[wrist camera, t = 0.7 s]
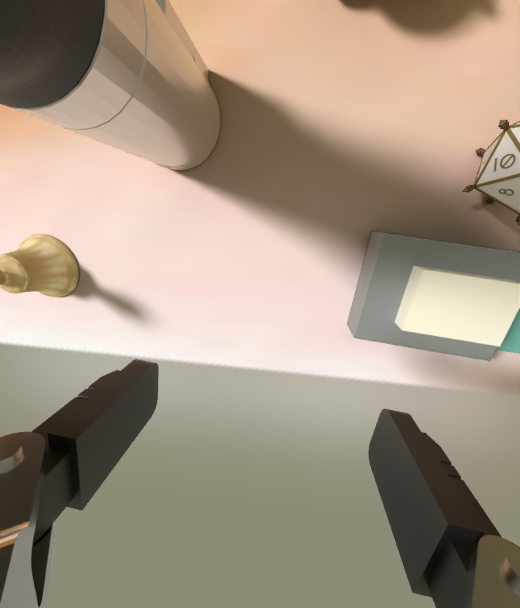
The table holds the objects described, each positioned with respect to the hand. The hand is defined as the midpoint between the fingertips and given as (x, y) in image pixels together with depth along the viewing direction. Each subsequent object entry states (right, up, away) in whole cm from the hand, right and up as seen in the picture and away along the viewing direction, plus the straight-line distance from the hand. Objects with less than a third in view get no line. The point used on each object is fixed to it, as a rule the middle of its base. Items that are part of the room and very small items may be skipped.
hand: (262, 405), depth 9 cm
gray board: (+18, +5, +20) cm, 28 cm away
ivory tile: (+19, +4, +16) cm, 25 cm away
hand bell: (-28, +9, +25) cm, 38 cm away
